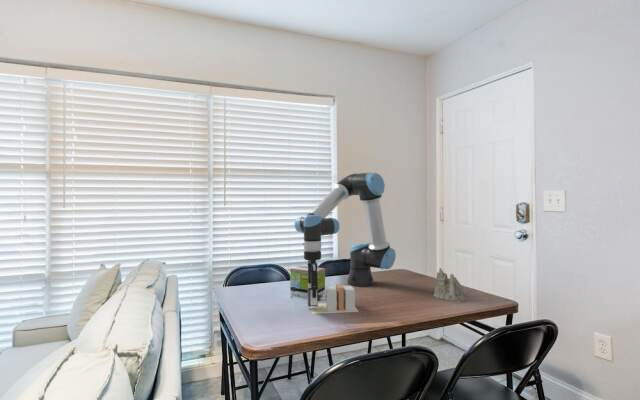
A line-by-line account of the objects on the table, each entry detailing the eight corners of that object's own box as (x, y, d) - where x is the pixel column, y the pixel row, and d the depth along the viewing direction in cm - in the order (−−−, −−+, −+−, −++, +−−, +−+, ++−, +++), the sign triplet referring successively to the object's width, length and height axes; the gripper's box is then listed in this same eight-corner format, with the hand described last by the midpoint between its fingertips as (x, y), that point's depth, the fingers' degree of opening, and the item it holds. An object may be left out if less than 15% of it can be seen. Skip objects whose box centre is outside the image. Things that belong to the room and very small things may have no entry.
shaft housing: (351, 305, 165) (351, 283, 165) (358, 315, 151) (358, 291, 151) (308, 307, 162) (308, 285, 162) (312, 317, 148) (312, 293, 148)
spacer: (340, 304, 161) (340, 283, 161) (343, 310, 153) (343, 288, 153) (335, 304, 161) (335, 283, 161) (339, 310, 153) (339, 288, 153)
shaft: (347, 302, 159) (347, 286, 159) (349, 304, 155) (349, 288, 155) (307, 303, 157) (307, 288, 157) (308, 306, 153) (308, 290, 153)
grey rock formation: (458, 303, 167) (458, 270, 168) (427, 297, 180) (427, 267, 180) (473, 298, 177) (473, 268, 178) (443, 293, 190) (443, 265, 191)
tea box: (289, 297, 177) (289, 268, 177) (300, 293, 186) (300, 264, 186) (316, 302, 170) (316, 271, 170) (325, 296, 179) (325, 267, 179)
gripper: (301, 246, 166) (302, 294, 166) (306, 254, 144) (306, 309, 144) (317, 246, 166) (318, 294, 167) (324, 254, 144) (324, 309, 145)
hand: (312, 301), depth 155 cm, fingers open, 9 cm apart
